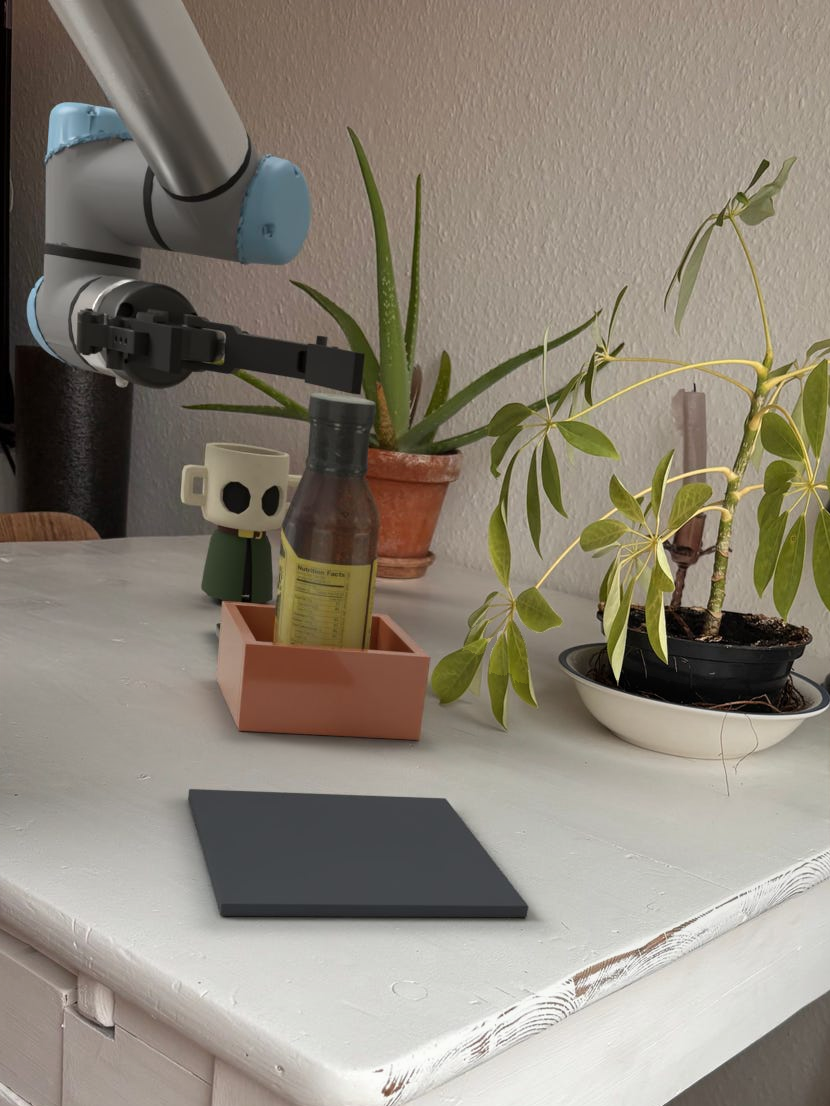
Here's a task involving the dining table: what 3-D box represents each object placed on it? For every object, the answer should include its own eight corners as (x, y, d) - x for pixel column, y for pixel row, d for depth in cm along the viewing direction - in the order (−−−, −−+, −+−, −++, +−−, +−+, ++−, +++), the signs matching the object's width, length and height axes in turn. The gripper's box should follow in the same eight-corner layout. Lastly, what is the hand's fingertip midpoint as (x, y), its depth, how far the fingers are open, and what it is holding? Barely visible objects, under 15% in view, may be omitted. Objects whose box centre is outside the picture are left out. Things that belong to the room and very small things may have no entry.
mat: (220, 916, 55) (221, 903, 54) (187, 799, 67) (188, 788, 67) (526, 917, 59) (528, 905, 59) (444, 808, 72) (445, 797, 71)
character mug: (184, 607, 108) (194, 447, 103) (165, 588, 114) (174, 436, 109) (307, 614, 113) (323, 461, 108) (283, 595, 119) (297, 450, 114)
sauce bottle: (301, 689, 90) (331, 390, 83) (378, 711, 88) (416, 406, 80) (246, 705, 84) (273, 386, 77) (327, 729, 82) (362, 403, 75)
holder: (238, 731, 79) (245, 643, 77) (216, 679, 89) (221, 600, 87) (419, 740, 83) (430, 657, 81) (378, 689, 93) (387, 614, 91)
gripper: (276, 398, 109) (417, 436, 94) (-25, 366, 94) (86, 404, 79) (284, 303, 106) (431, 326, 91) (-25, 254, 91) (90, 272, 76)
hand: (271, 362), depth 85 cm, fingers open, 13 cm apart
